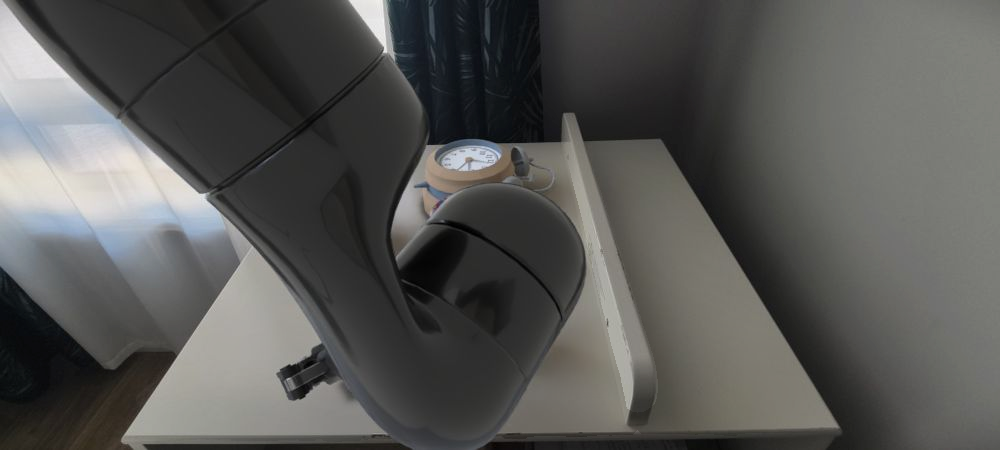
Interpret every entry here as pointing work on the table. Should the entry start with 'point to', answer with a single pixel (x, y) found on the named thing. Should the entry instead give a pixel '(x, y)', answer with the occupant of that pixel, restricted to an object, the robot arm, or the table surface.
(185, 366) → the table surface
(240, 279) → the table surface
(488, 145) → the alarm clock
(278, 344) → the table surface
